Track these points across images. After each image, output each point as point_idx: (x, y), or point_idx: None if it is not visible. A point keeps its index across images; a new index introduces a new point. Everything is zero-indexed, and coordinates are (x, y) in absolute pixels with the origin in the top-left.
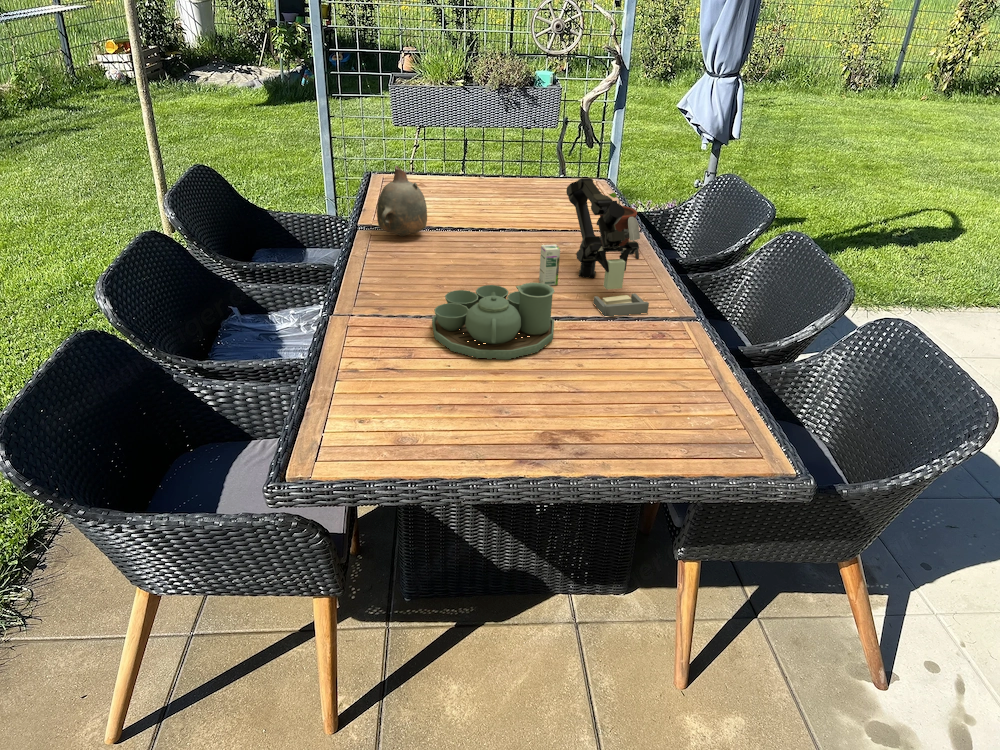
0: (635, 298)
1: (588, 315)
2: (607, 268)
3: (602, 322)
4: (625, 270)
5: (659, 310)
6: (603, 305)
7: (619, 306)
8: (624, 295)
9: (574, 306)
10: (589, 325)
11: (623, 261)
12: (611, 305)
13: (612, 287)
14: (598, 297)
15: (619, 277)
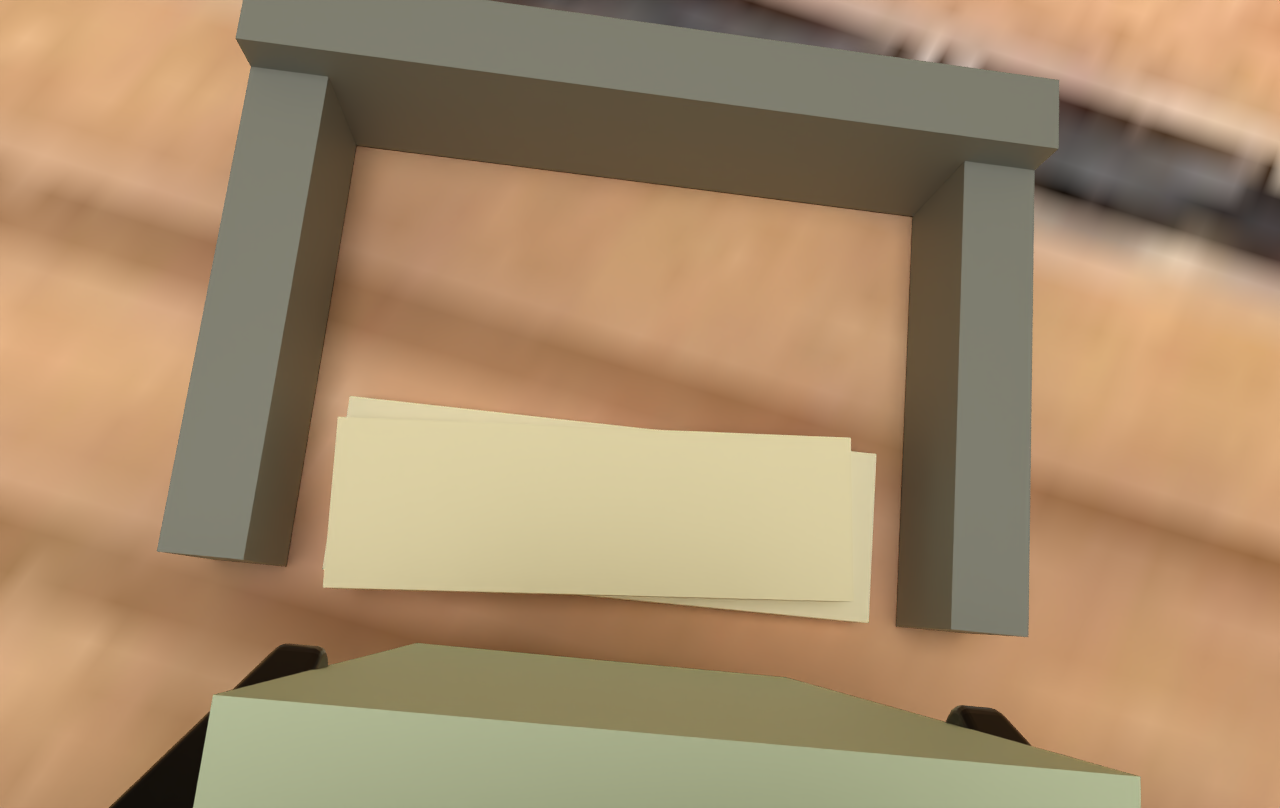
0: (280, 373)
1: (1175, 293)
2: None
3: (1068, 48)
4: (293, 645)
5: (32, 117)
6: (1012, 245)
7: (812, 57)
8: (391, 586)
9: (1276, 642)
10: (1265, 28)
11: (292, 798)
12: (950, 95)
13: (656, 666)
14: (962, 574)
15: (505, 667)
